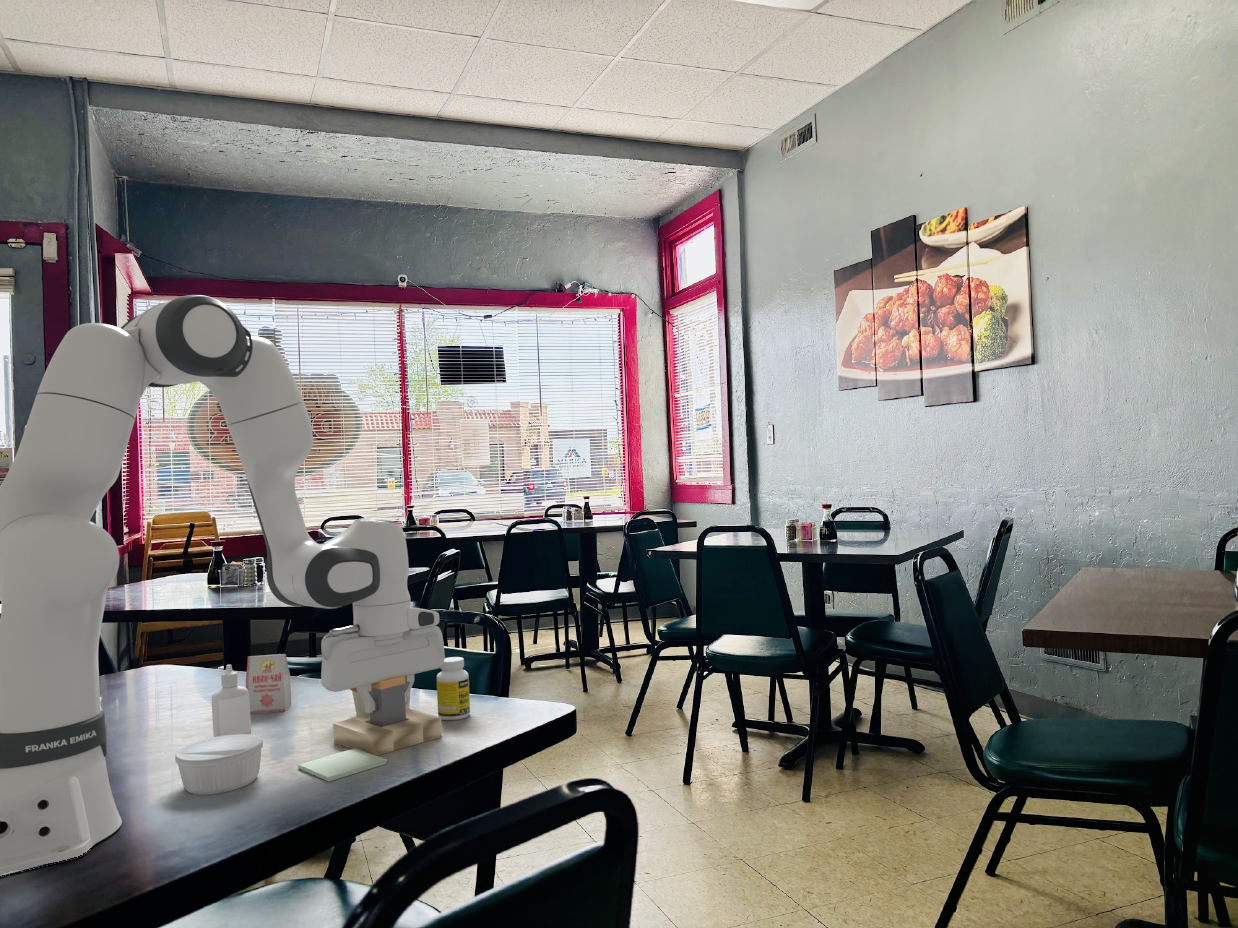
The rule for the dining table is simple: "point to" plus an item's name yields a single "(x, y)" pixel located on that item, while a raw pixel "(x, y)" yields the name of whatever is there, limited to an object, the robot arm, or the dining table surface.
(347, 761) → the coaster
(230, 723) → the eye dropper bottle
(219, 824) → the dining table surface
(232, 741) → the ramekin
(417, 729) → the socket block
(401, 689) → the plug
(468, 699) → the supplement bottle
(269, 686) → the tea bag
